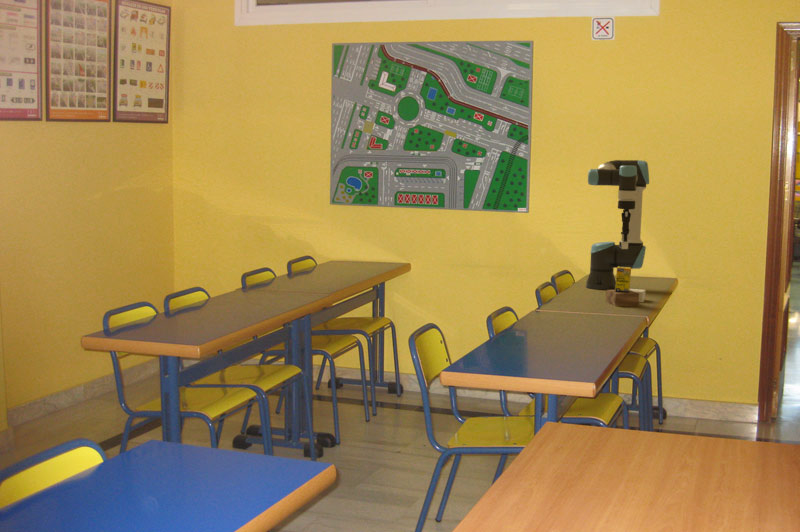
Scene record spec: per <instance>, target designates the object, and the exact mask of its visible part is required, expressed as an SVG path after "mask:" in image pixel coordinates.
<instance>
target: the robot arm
mask: <svg viewBox="0 0 800 532" xmlns="http://www.w3.org/2000/svg"><path fill="white" fill-rule="evenodd" d="M649 173H650V170H649V164H648V161H646V160H639V159H637V160H636V159H634V160H633V159H631V160H630V159H628V160H625V159H614V160H609V161H607V162H603V163H601V164H600V165H599V166H598V168H591V169H589V170H588V173H587V183H588V185H589V186H594V187H595V186H613V187H616V186H617V187H618V191H617V198H618V201H617V209H618V210H622V212H621V222H622V226H621V232H620V234H621V239H620V240H619V242H618V243H619V244H616V243H615V241H601V242H596V243H593V244H592V245H591V247H590V263H589V264H590V266H589V267H590V268H589V269H590V270H589V273H588V274H589V275H588V276H587V279H586V282H585V288H588V289H593V290H615V288H616V278H615V274H614V270H615V269H617V267H618V266H620V267H631V270H637V269H638V270H639V269H641V268H642V267H643V265H644V259H645V255H646V249H647V246H645V245H644V241H642V239H641V233H642V230H641V227H642V210H643V194H644V191H645V189H647V185H649V184H650V174H649ZM614 268H615V269H614Z"/></svg>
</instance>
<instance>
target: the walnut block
mask: <svg viewBox="0 0 800 532" xmlns="http://www.w3.org/2000/svg"><path fill="white" fill-rule="evenodd" d="M605 303H608V304H609V305H611V304H612V306H613V307H638V306H639V303H640V302H639V293H637V292H634V291H631V290H629V293H626V292H615V289H605Z"/></svg>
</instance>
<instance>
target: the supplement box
mask: <svg viewBox="0 0 800 532" xmlns="http://www.w3.org/2000/svg"><path fill="white" fill-rule="evenodd" d="M631 274H632V269H631V267H620V266H618V267H617V268H616V278H615V281H616V288H615V289H614V290H615V292H626V293H629V289H631V288H630V286H631V276H632V275H631Z"/></svg>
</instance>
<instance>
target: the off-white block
mask: <svg viewBox="0 0 800 532" xmlns="http://www.w3.org/2000/svg"><path fill="white" fill-rule="evenodd" d="M629 290H631V291H634V292H637V293H639V303H643V302H644V301H646V289H640V288H630V289H629Z"/></svg>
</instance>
